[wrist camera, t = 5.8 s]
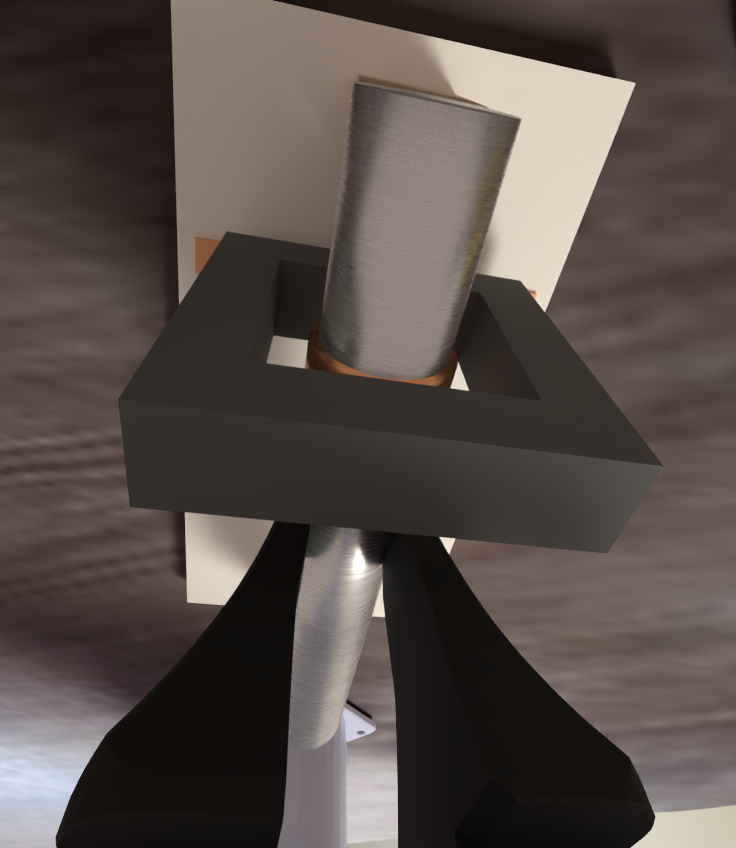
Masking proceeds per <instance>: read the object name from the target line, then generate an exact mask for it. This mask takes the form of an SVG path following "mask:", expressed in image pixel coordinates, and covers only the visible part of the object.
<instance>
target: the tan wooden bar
mask: <svg viewBox="0 0 736 848" xmlns="http://www.w3.org/2000/svg"><path fill="white" fill-rule="evenodd" d="M357 82H364V83H371V84H377V85H383V86H388V87H394V88H399V89H404V90H409V91H414V92H419V93H423V94H428V95H433V96H437V97H442V98H446V99H451V100H455V101H460V102H464V103H468V104H472V105H477V106H481V107H485V108H488V107H486V106H484V105H481V104H479V103H476V102H474V101H471V100H468V99H466V98H463V97H461V96H458V95H456V94H451V93H447V92H442V91H437V90H433V89H428V88H423V87H419V86H414V85H409V84H405V83H400V82H395V81H391V80H386V79H381V78H377V77H372V76H367V75H363V74H358V80H357Z"/></svg>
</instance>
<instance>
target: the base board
mask: <svg viewBox="0 0 736 848" xmlns="http://www.w3.org/2000/svg"><path fill="white" fill-rule="evenodd" d="M171 26H172V62H173V98H174V135H175V171H176V208H177V244H178V281H179V305H180V303H181V301H182V300H183V298H184V297H185V295H186V294H187V292H188V291H189V289H190V287H191V286H192V284H193V283H194V281H195V280H196V278H197V277H198V275H199V274H200V272H201V270H202V269H203V267H204V266H205V264H206V263H207V261H208V260H209V258H210V256H211V255H212V253H213V252H214V250H215V249H216V247H217V246H218V244H219V243H220V241H221V239H222V238H223V236H224V235H225V233H226V232H227V231H228V232H234V233H240V234H246V235H252V236H258V237H264V238H270V239H275V240H281V241H287V242H293V243H299V244H305V245H311V246H317V247H323V248H329V249H331V241H332V234H333V227H334V219H335V212H336V205H337V198H338V190H339V183H340V176H341V169H342V161H343V154H344V147H345V139H346V132H347V125H348V118H349V110H350V103H351V96H352V89H353V82H357V80H358V74H363V75H367V76H372V77H377V78H381V79H386V80H391V81H395V82H400V83H405V84H409V85H414V86H419V87H423V88H428V89H433V90H437V91H442V92H447V93H451V94H456V95H458V96H461V97H463V98H466V99H468V100H471V101H474V102H476V103H479V104H481V105H484V106H486V107H488V108H489V109H493V110H496V111H500V112H504V113H507V114H511V115H514V116H517V117H520V118H522V121H521V124H520V127H519V131H518V134H517V137H516V141H515V144H514V147H513V151H512V154H511V157H510V161H509V164H508V167H507V170H506V174H505V177H504V180H503V184H502V187H501V190H500V194H499V197H498V200H497V204H496V207H495V210H494V214H493V217H492V220H491V223H490V227H489V230H488V233H487V237H486V240H485V243H484V247H483V250H482V253H481V257H480V260H479V263H478V267H477V270H476V273H478V274H484V275H490V276H496V277H501V278H507V279H513V280H519V281H521V282H522V283H523V285H524V286H525V287H526V288H527V290H528V291H529V292H530V294H531V295H532V296H533V298H534V299H535V300H536V301H537V303H538V304H539V305H540V307H541V308H542V309H543V311H544V312H545V311H546V308H547V306H548V303H549V301H550V298H551V296H552V293H553V291H554V288H555V286H556V283H557V281H558V278H559V275H560V273H561V270H562V268H563V265H564V263H565V260H566V258H567V255H568V253H569V250H570V248H571V245H572V243H573V240H574V238H575V235H576V233H577V230H578V227H579V225H580V222H581V220H582V217H583V215H584V212H585V210H586V207H587V205H588V202H589V200H590V197H591V195H592V192H593V190H594V187H595V185H596V182H597V179H598V177H599V174H600V172H601V169H602V167H603V164H604V162H605V159H606V157H607V154H608V152H609V149H610V147H611V144H612V142H613V139H614V137H615V134H616V132H617V129H618V126H619V124H620V121H621V119H622V116H623V114H624V111H625V109H626V106H627V104H628V101H629V99H630V96H631V94H632V91H633V89H634V86H635V84H636V83H633V82H628V81H624V80H620V79H615V78H611V77H606V76H602V75H598V74H593V73H589V72H584V71H580V70H576V69H571V68H567V67H563V66H558V65H554V64H549V63H545V62H541V61H536V60H532V59H527V58H523V57H519V56H514V55H510V54H506V53H501V52H497V51H492V50H488V49H484V48H479V47H475V46H471V45H466V44H462V43H457V42H453V41H449V40H444V39H440V38H435V37H431V36H427V35H422V34H418V33H414V32H409V31H405V30H400V29H396V28H392V27H387V26H383V25H378V24H374V23H370V22H365V21H361V20H357V19H352V18H348V17H343V16H339V15H335V14H330V13H326V12H322V11H317V10H313V9H308V8H304V7H300V6H295V5H291V4H286V3H282V2H278V1H273V0H171ZM307 346H308V340H301V339H294V338H287V337H280V336H273V339H272V343H271V347H270V351H269V355H268V359H267V363H269V364H276V365H283V366H291V367H298V368H305V362H306V354H307ZM451 388H452V389H459V390H466V391H469V389H468V387H467V384H466V381H465V378H464V376H463V373H462V370H461V368H460V365H459V362H458V366H457V369H456V372H455V376H454V379H453V382H452V385H451ZM273 523H274V521H270V520H260V519H250V518H239V517H229V516H219V515H208V514H198V513H188V512H185V536H186V572H187V602H190V603H203V604H216V605H225V604H226V603H227V601H228V600H229V598H230V597H231V596H232V594H233V593H234V591H235V590H236V588H237V587H238V585H239V584H240V582H241V580H242V579H243V577H244V576H245V574H246V572H247V571H248V569H249V568H250V566H251V564H252V563H253V561H254V559H255V558H256V556H257V554H258V552H259V550H260V549H261V547H262V545H263V543H264V541H265V539H266V537H267V535H268V533H269V531H270V529H271V527H272V525H273ZM440 539H441V541H442V543H443V545H444V546H445V548H446V550H447V552H448V553H450V551H451V548H452V546H453V543H454V541H455V538H445V537H440ZM372 616H376V617H385V612H384V603H383V583H382V585H381V588H380V591H379V594H378V598H377V601H376V604H375V608H374V611H373V614H372Z"/></svg>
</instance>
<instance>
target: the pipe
mask: <svg viewBox="0 0 736 848" xmlns="http://www.w3.org/2000/svg"><path fill="white" fill-rule="evenodd" d="M521 121H522V118H520V117H517V116H514V115H511V114H507V113H504V112H500V111H496V110H493V109H489V108H485V107H481V106H477V105H472V104H468V103H464V102H460V101H455V100H451V99H446V98H442V97H437V96H433V95H428V94H423V93H419V92H414V91H409V90H404V89H399V88H394V87H388V86H383V85H377V84H371V83H364V82H353V89H352V96H351V103H350V110H349V118H348V125H347V132H346V139H345V147H344V154H343V161H342V169H341V176H340V183H339V190H338V198H337V205H336V212H335V219H334V227H333V234H332V241H331V249H330V256H329V263H328V270H327V278H326V285H325V292H324V299H323V307H322V314H321V320H319V321H318V322H316V323H315V324H314V325H313V326H312V328H311V329H310V332H309V338H308V346H307V354H306V362H305V369H313V370H320V371H327V372H335V373H342V374H349V375H357V376H364V377H371V378H378V379H386V380H393V381H400V382H408V383H415V384H422V385H430V386H437V387H444V388H451V385H452V382H453V379H454V376H455V372H456V369H457V366H458V358H457V355H456V353H455V351H454V350H453V346H454V343H455V339H456V336H457V333H458V329H459V326H460V323H461V320H462V316H463V313H464V310H465V306H466V303H467V300H468V296H469V293H470V290H471V286H472V283H473V280H474V276H475V273H476V270H477V267H478V263H479V260H480V257H481V253H482V250H483V247H484V243H485V240H486V237H487V233H488V230H489V227H490V223H491V220H492V217H493V214H494V210H495V207H496V204H497V200H498V197H499V194H500V190H501V187H502V184H503V180H504V177H505V174H506V170H507V167H508V164H509V161H510V157H511V154H512V151H513V147H514V144H515V141H516V137H517V134H518V131H519V127H520V124H521ZM391 533H392V532H383V531H373V530H363V529H352V528H342V527H332V526H321V525H311V526H310V533H309V539H308V545H307V551H306V557H305V563H304V569H303V575H302V581H301V587H300V593H299V598H298V604H297V609H296V617H295V632H294V647H293V662H292V679H291V697H290V715H289V735H288V747H289V748H292V749H296V750H312V749H315V748H318V747H320V746H322V745H324V744H325V743H327V742H328V741H329V740H330V739H331V738H332V737H333V735H334V734H335V732H336V731H337V729H338V727H339V724H340V720H341V717H342V714H343V710H344V707H345V704H346V700H347V697H348V694H349V691H350V687H351V684H352V681H353V677H354V674H355V671H356V667H357V664H358V661H359V657H360V654H361V651H362V647H363V644H364V641H365V638H366V634H367V631H368V628H369V624H370V621H371V618H372V614H373V611H374V608H375V604H376V601H377V598H378V594H379V591H380V588H381V585H382V563H383V560H384V556H385V553H386V550H387V546H388V543H389V539H390V536H391Z"/></svg>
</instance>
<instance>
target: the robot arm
mask: <svg viewBox="0 0 736 848" xmlns="http://www.w3.org/2000/svg"><path fill="white" fill-rule="evenodd" d="M310 526H311V524H301V523H291V522H280V521H274V523H273V525H272V527H271V529H270V531H269V533H268V535H267V537H266V539H265V541H264V543H263V545H262V547H261V549H260V550H259V552H258V554H257V556H256V558H255V559H254V561H253V563H252V564H251V566H250V568H249V569H248V571H247V572H246V574H245V576H244V577H243V579H242V580H241V582H240V584H239V585H238V587H237V588H236V590H235V591H234V593H233V594H232V596H231V597H230V598H229V600H228V601H227V603H226V604H225V605H224V607H223V608H222V609H221V611H220V612H219V614H218V615H217V616H216V618H215V619H214V620H213V621H212V623H211V624H210V625H209V626H208V628H207V629H206V630H205V631H204V633H203V634H202V635H201V636H200V638H199V639H198V640H197V641H196V643H195V644H194V645H193V646H192V647H191V648H190V650H189V651H188V652H187V653H186V654H185V655H184V656H183V658H182V659H181V660H180V661H179V662H178V663H177V664H176V665H175V666H174V667H173V668H172V669H171V670H170V672H169V673H168V674H167V675H166V676H165V677H164V678H163V679H162V680H161V681H160V682H159V683H158V684H157V685H156V687H155V688H154V689H153V690H152V691H151V692H150V693H149V694H148V695H147V696H146V697H145V698H144V699H143V700H142V701H141V702H139V703H138V704H137V705H136V706H135V707H134V708H133V709H132V710H131V711H130V712H129V713H128V714H127V715H126V716H125V717H124V718H123V719H122V720H121V721H119V722H118V723H117V724H116V725H115V726H114V727H113V728H112V729H111V730H110V731H109V732H108V733H107V734H106V736H105V737H104V739H103V740H102V742H101V743H100V745H99V746H98V748H97V750H96V751H95V753H94V754H93V756H92V757H91V759H90V761H89V763H88V764H87V766H86V768H85V769H84V771H83V773H82V775H81V777H80V779H79V781H78V783H77V785H76V787H75V789H74V791H73V793H72V795H71V797H70V800H69V802H68V805H67V808H66V811H65V813H64V816H63V819H62V821H61V824H60V827H59V830H58V832H57V835H56V847H57V848H347V767H346V742H348V741H351V740H354V739H356V738H359V737H362V736H364V735H367V734H370V733H372V732H374V731H375V722H374V721H372V720H371V719H369V718H368V717H366V716H365V715H363V714H362V713H360V712H359V711H357V710H356V709H354V708H353V707H351V706H350V705H348V704H347V703H346V704H345V707H344V710H343V714H342V717H341V720H340V724H339V727H338V729H337V731H336V732H335V734H334V735H333V737H332V738H331V739H330V740H329V741H328V742H327V743H325V744H324V745H322V746H320V747H318V748H315V749H312V750H296V749H292V748H289V747H288V735H289V715H290V697H291V679H292V662H293V647H294V632H295V617H296V609H297V604H298V598H299V593H300V587H301V581H302V575H303V569H304V563H305V557H306V551H307V545H308V539H309V533H310ZM382 583H383V603H384V612H385V620H386V628H387V635H388V643H389V651H390V658H391V666H392V674H393V681H394V692H395V704H396V733H397V772H398V848H631V847H632V846H633V845H634V844H635V843H637V842H638V841H639V840H641V839H642V838H643V837H644V836H645V835H646V834H647V833H648V832H649V831H650V830H651V829H652V827H653V824H654V820H655V814H654V812H653V810H652V807H651V805H650V802H649V800H648V797H647V795H646V792H645V790H644V787H643V785H642V782H641V780H640V778H639V776H638V774H637V772H636V770H635V768H634V766H633V764H632V762H631V760H630V758H629V757H628V756H627V755H626V754H625V753H624V752H622V751H621V750H620V749H619V748H618V747H616V746H615V745H614V744H613V743H612V742H611V741H609V740H608V739H607V738H606V737H605V736H603V735H602V734H601V733H600V732H599V731H598V730H596V729H595V728H594V727H593V726H592V725H590V724H589V723H588V722H587V721H586V720H585V719H584V718H583V717H581V716H580V715H579V714H578V713H577V712H576V711H575V710H574V709H573V708H572V707H571V706H570V705H569V704H568V703H567V702H566V701H565V700H563V699H562V698H561V697H560V696H559V695H558V694H557V693H556V692H555V691H554V690H553V689H552V688H551V687H550V686H549V685H548V683H547V682H546V681H545V680H544V679H543V678H542V677H541V676H540V675H539V674H538V673H537V672H536V671H535V670H534V669H533V668H532V667H531V666H530V664H529V663H528V662H527V661H526V660H525V659H524V658H523V657H522V656H521V654H520V653H519V652H518V651H517V650H516V649H515V647H514V646H513V645H512V644H511V643H510V642H509V640H508V639H507V638H506V637H505V635H504V634H503V633H502V632H501V630H500V629H499V628H498V627H497V625H496V624H495V623H494V621H493V620H492V619H491V617H490V616H489V615H488V613H487V612H486V611H485V609H484V608H483V606H482V605H481V603H480V602H479V601H478V599H477V598H476V596H475V595H474V593H473V592H472V590H471V589H470V587H469V586H468V584H467V583H466V581H465V580H464V578H463V576H462V575H461V573H460V572H459V570H458V568H457V567H456V565H455V563H454V562H453V560H452V559H451V557H450V555H449V553H448V552H447V550H446V548H445V546H444V545H443V543H442V541H441V539H440V537H435V536H424V535H414V534H404V533H393V532H392V533H391V536H390V539H389V543H388V546H387V550H386V553H385V556H384V560H383V563H382Z"/></svg>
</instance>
